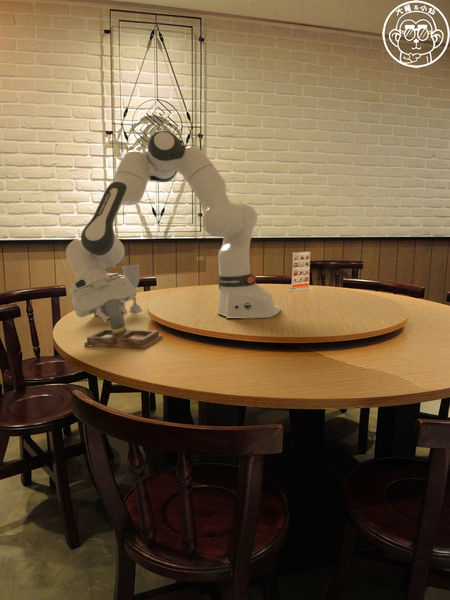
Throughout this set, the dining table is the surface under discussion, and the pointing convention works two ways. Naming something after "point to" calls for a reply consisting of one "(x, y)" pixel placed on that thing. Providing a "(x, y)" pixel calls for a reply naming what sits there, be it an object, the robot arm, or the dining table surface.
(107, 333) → the wooden compartment tray
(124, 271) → the chalice
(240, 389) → the dining table surface
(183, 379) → the dining table surface
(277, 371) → the dining table surface
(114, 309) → the sleeve
